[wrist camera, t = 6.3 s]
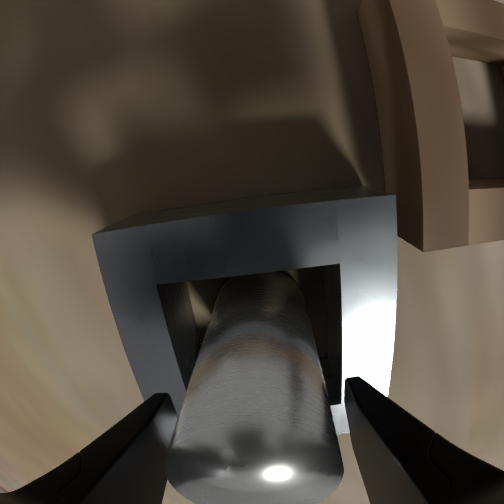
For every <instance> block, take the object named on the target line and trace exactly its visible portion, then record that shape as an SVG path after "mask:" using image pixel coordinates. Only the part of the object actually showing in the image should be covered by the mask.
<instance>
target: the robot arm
mask: <svg viewBox="0 0 504 504" xmlns="http://www.w3.org/2000/svg"><path fill="white" fill-rule="evenodd" d="M344 404H345V410H346V415H347V420H348V426H349V431H350V437H351V442H352V447H353V450H354V454H355V457H356V460H357V463H358V466H359V469H360V472H361V475H362V479H363V482H364V485H365V488H366V491H367V494H368V498H369V501H370V504H504V471H503V470H501V469H499V468H497V467H495V466H493V465H491V464H489V463H487V462H485V461H483V460H481V459H479V458H477V457H475V456H473V455H471V454H469V453H467V452H466V451H464V450H462V449H460V448H458V447H457V446H455V445H454V444H452V443H451V442H449V441H448V440H446V439H445V438H443V437H442V436H441V435H439V434H438V433H435V431H433V430H432V429H431V428H429V427H428V426H426V425H425V424H424V423H422V422H421V421H419V420H418V419H417V418H415V417H414V416H413V415H411V414H410V413H408V412H407V411H406V410H404V409H403V408H402V407H400V406H399V405H397V404H396V403H395V402H393V401H392V400H391V399H389V398H388V397H387V396H385V395H384V394H383V393H381V392H380V391H379V390H377V389H376V388H375V387H373V386H372V385H371V384H369V383H368V382H367V381H365V380H364V379H363V378H361V377H360V376H355V377H349V378H346V379H345V389H344ZM176 422H177V413H176V410H175V407H174V405H173V402H172V399H171V397H170V395H169V394H168V393H155V394H153V395H152V396H151V397H149V398H148V399H147V400H146V401H144V402H143V403H142V404H141V405H139V406H138V407H137V408H136V409H134V410H133V411H132V412H131V413H129V414H128V415H127V416H125V417H124V418H123V419H122V420H120V421H119V422H118V423H116V424H115V425H114V426H113V427H111V428H110V429H109V430H107V431H106V432H105V433H103V434H102V435H101V436H99V437H98V438H97V439H95V440H94V441H93V442H91V443H90V444H89V445H87V446H86V447H85V448H83V449H82V450H81V451H80V453H79V452H78V453H77V454H75V455H74V456H73V457H71V458H70V459H68V460H67V461H65V462H64V463H63V464H61V465H60V466H58V467H56V468H55V469H53V470H52V471H50V472H48V473H47V474H45V475H43V476H41V477H40V478H38V479H36V480H34V481H32V482H31V483H29V484H27V485H25V486H23V487H21V488H19V489H17V490H15V491H12V492H8V493H0V504H162V500H163V496H164V491H165V487H166V483H167V477H166V475H165V471H164V461H165V458H166V454H167V451H168V448H169V445H170V441H171V438H172V435H173V432H174V429H175V426H176Z"/></svg>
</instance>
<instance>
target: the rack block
mask: <svg viewBox="0 0 504 504" xmlns="http://www.w3.org/2000/svg"><path fill="white" fill-rule="evenodd" d="M92 238H93V242H94V246H95V251H96V255H97V259H98V263H99V267H100V271H101V274H102V278H103V282H104V286H105V289H106V293H107V296H108V300H109V303H110V306H111V310H112V313H113V316H114V319H115V322H116V325H117V329H118V332H119V335H120V338H121V340H122V343H123V346H124V349H125V352H126V355H127V357H128V360H129V363H130V366H131V368H132V371H133V374H134V376H135V379H136V381H137V384H138V386H139V389H140V391H141V394H142V396H143V399H144V401H146V400H147V399H148V398H149V397H151V396H152V395H153V394H155V393H168V394H169V395H170V397H171V399H172V402H173V405H174V407H175V410H176V413H177V419H178V416H179V413H180V410H181V407H182V404H183V400H184V397H185V394H186V391H187V388H188V385H189V382H190V379H191V376H192V372H193V369H194V366H195V363H196V360H197V357H198V354H199V351H200V348H201V344H200V340H199V336H198V331H197V327H196V323H195V319H194V314H193V310H192V305H191V301H190V296H189V292H188V287H187V282H186V281H195V280H204V279H214V278H223V277H232V276H241V275H249V274H258V273H267V272H275V271H283V270H292V269H300V268H308V267H316V266H324V280H325V298H326V319H327V347H328V357H325V358H319V360H320V364H321V369H322V373H323V377H324V381H325V385H326V390H327V394H328V398H329V403H330V407H331V411H332V416H333V420H334V425H335V429H336V434H337V435H341V434H347V433H350V431H349V426H348V420H347V415H346V410H345V404H344V389H345V379H346V378H349V377H355V376H360V377H361V378H363V379H364V380H365V381H367V382H368V383H369V384H371V385H372V386H373V387H375V388H376V389H377V390H379V391H380V392H381V393H383V394H384V395H385V396H387V397H388V390H389V382H390V374H391V366H392V356H393V346H394V334H395V320H396V301H397V259H398V253H397V211H396V195H395V194H391V193H388V192H385V191H381V190H378V189H374V188H371V187H367V186H352V187H341V188H331V189H321V190H311V191H302V192H293V193H284V194H276V195H268V196H260V197H252V198H244V199H237V200H229V201H222V202H215V203H208V204H202V205H195V206H188V207H182V208H176V209H169V210H163V211H157V212H151V213H145V214H140V215H134V216H129V217H127V218H125V219H123V220H121V221H119V222H116V223H114V224H112V225H110V226H108V227H106V228H104V229H102V230H100V231H98V232H96V233H94V234H92Z"/></svg>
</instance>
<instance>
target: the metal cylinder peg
mask: <svg viewBox="0 0 504 504" xmlns="http://www.w3.org/2000/svg"><path fill="white" fill-rule="evenodd" d="M164 471H165V475H166V477H167V479H168V481H169V482H170V483H171V485H172V486H173V487H174V488H175V489H176V490H177V491H178V492H179V493H180V494H181V495H183V496H184V497H186V498H187V499H189V500H190V501H192V502H194V503H196V504H317V503H319V502H321V501H322V500H324V499H325V498H327V497H328V496H329V495H330V494H331V493H333V492H334V491H335V490H336V488H337V487H338V486H339V484H340V482H341V480H342V477H343V473H344V467H343V462H342V457H341V452H340V448H339V443H338V438H337V434H336V429H335V425H334V420H333V416H332V411H331V407H330V403H329V398H328V394H327V390H326V385H325V381H324V377H323V373H322V369H321V364H320V360H319V356H318V352H317V348H316V344H315V340H314V336H313V332H312V328H311V324H310V320H309V316H308V312H307V309H306V305H305V301H304V297H303V294H302V292H301V290H300V288H299V287H298V285H297V284H296V283H295V282H294V281H293V280H292V279H291V278H290V277H288V276H287V275H285V274H284V273H282V272H280V271H275V272H267V273H258V274H249V275H241V276H232V277H231V278H230V279H229V280H228V281H227V282H226V283H225V284H224V285H223V287H222V288H221V290H220V292H219V294H218V297H217V300H216V303H215V306H214V309H213V312H212V315H211V318H210V321H209V324H208V327H207V330H206V333H205V336H204V339H203V342H202V345H201V348H200V351H199V354H198V357H197V360H196V363H195V366H194V369H193V372H192V376H191V379H190V382H189V385H188V388H187V391H186V394H185V397H184V400H183V404H182V407H181V410H180V413H179V416H178V419H177V422H176V426H175V429H174V432H173V435H172V438H171V441H170V445H169V448H168V451H167V454H166V458H165V461H164Z"/></svg>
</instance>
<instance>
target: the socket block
mask: <svg viewBox="0 0 504 504" xmlns="http://www.w3.org/2000/svg"><path fill="white" fill-rule="evenodd" d="M356 11H357V15H358V19H359V23H360V27H361V31H362V35H363V39H364V44H365V48H366V53H367V57H368V62H369V67H370V72H371V78H372V83H373V89H374V95H375V101H376V107H377V114H378V121H379V129H380V136H381V145H382V154H383V164H384V175H385V188H386V192H388V193H391V194H395V195H396V211H397V236H399V237H400V238H402V239H404V240H405V241H407V242H408V243H410V244H411V245H413V246H415V247H416V248H418V249H419V250H421V251H422V252H427V251H434V250H441V249H448V248H454V247H461V246H467V245H474V244H480V243H487V242H493V241H499V240H504V178H481V179H468V162H467V150H466V139H465V130H464V122H463V115H462V108H461V101H460V95H459V90H458V84H457V79H456V74H455V70H454V65H453V61H452V56H454V57H460V58H466V59H471V60H476V61H481V62H486V63H491V64H495V65H499V66H500V67H501V72H502V76H503V81H504V4H502V3H499V2H497V1H494V0H363V1H362V2H361V4H360V5H359V7H358V8H357V10H356Z"/></svg>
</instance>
